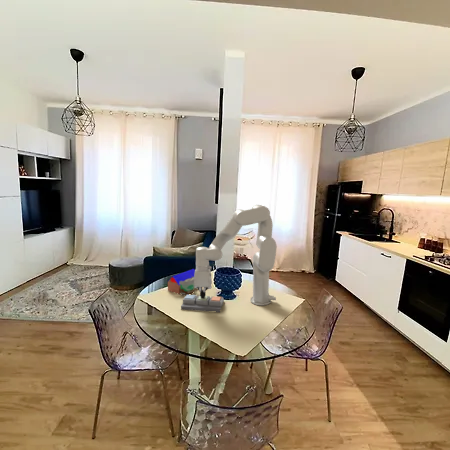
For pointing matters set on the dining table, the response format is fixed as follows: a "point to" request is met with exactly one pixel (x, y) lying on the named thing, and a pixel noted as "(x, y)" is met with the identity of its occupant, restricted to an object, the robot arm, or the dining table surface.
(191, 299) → the button slate
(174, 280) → the house
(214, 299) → the button terracotta
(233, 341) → the dining table surface
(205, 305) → the button panel
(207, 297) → the button sage
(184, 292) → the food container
